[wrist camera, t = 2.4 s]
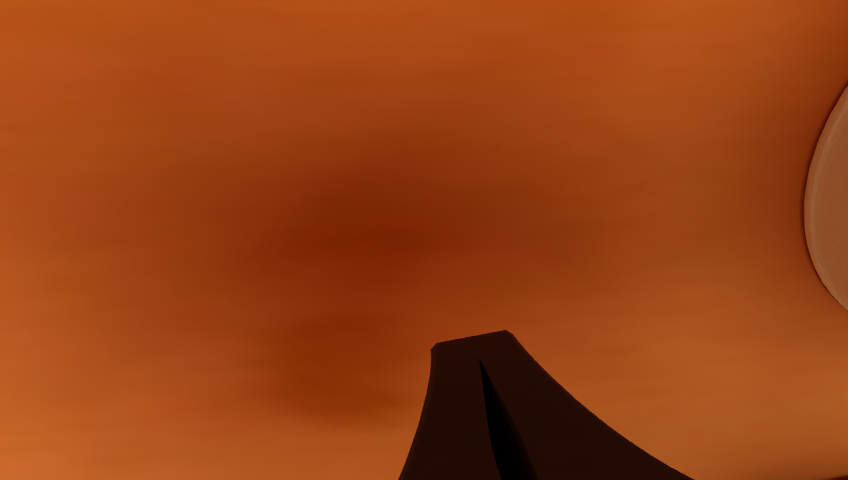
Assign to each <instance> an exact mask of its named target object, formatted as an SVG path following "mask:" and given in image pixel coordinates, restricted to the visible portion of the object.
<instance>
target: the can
mask: <svg viewBox="0 0 848 480" xmlns="http://www.w3.org/2000/svg"><path fill="white" fill-rule="evenodd" d="M804 229H805V235H806V241H807V246H808V249H809V253H810V256H811V259H812V262H813V265H814V267H815V269H816V271H817V273H818V275H819V277H820V279H821V281H822V282H823V284H824V285H825V287H826V288H827V289H828V291H829V292H830V294H831V295H832V296H833V297H834V298H835V299H836V300H837V301H838V302H839V304H840V305H842V306H843V307H844V308H845V309H846V310H847V311H848V86H847V87H846V89H845V90H844V92H843V94H842V95H841V97H840V99H839V100H838V102H837V104H836V106H835V107H834V109H833V111H832V112H831V114H830V116H829V118H828V120H827V122H826V125H825V127H824V129H823V131H822V134H821V136H820V138H819V140H818V143H817V146H816V149H815V152H814V155H813V159H812V162H811V165H810V168H809V173H808V179H807V184H806V190H805V199H804Z"/></svg>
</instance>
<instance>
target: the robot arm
mask: <svg viewBox="0 0 848 480" xmlns="http://www.w3.org/2000/svg"><path fill="white" fill-rule="evenodd" d="M398 480H694V479H692V478H690V477H688V476H686V475H684V474H682V473H680V472H679V471H677V470H675V469H673V468H671V467H669V466H668V465H666V464H664V463H663V462H661V461H659V460H658V459H656V458H654V457H653V456H651V455H650V454H648V453H647V452H645V451H644V450H642V449H641V448H639V447H638V446H636V445H635V444H633V443H632V442H630V441H629V440H627V439H626V438H624V437H623V436H622V435H620V434H619V433H617V432H616V431H615V430H613V429H612V428H611V427H609V426H608V425H607V424H606V423H604V422H603V421H602V420H601V419H599V418H598V417H597V416H595V415H594V414H593V413H592V412H590V411H589V410H588V409H587V408H586V407H584V406H583V405H582V404H581V403H580V402H579V401H577V400H576V399H575V398H574V397H573V396H572V395H571V394H570V393H568V392H567V391H566V390H565V389H564V388H563V387H562V386H561V385H560V384H559V383H558V382H556V381H555V380H554V379H553V378H552V377H551V376H550V375H549V374H548V373H547V372H546V371H545V370H544V369H543V368H542V367H541V366H540V365H539V364H538V363H537V362H536V361H535V360H534V359H533V357H532V356H531V355H530V354H529V353H528V352H527V351H526V350H525V349H524V347H523V346H522V345H521V344H520V343H519V342H518V340H517V339H516V338H515V337H514V335H513V334H511V333H510V332H508V331H507V330H503V331H498V332H492V333H487V334H482V335H477V336H471V337H466V338H461V339H456V340H450V341H445V342H440V343H436V344H435V345H434V347H433V348H432V349H431V370H430V378H429V383H428V389H427V394H426V398H425V402H424V406H423V410H422V413H421V417H420V421H419V425H418V428H417V431H416V434H415V437H414V439H413V442H412V445H411V448H410V451H409V454H408V457H407V460H406V462H405V465H404V467H403V470H402V472H401V474H400V477H399V479H398Z"/></svg>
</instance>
